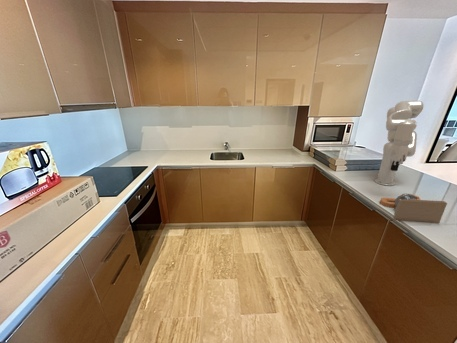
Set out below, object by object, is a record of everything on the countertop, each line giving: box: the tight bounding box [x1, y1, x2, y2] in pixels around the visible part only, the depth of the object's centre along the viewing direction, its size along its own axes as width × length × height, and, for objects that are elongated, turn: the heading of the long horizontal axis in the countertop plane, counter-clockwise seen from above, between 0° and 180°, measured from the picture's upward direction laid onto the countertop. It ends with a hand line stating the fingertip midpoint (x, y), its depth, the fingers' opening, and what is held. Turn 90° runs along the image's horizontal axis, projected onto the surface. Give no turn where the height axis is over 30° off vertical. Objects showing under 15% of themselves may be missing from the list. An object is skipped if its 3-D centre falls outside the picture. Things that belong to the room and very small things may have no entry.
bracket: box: [379, 193, 421, 209], centre depth 117 cm, size 18×8×7 cm, turn 69°
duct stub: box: [392, 193, 448, 224], centre depth 106 cm, size 12×20×12 cm, turn 78°
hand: (393, 170), depth 123 cm, fingers closed
